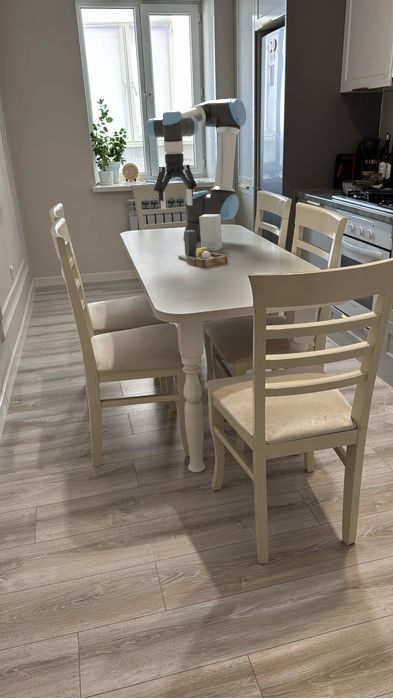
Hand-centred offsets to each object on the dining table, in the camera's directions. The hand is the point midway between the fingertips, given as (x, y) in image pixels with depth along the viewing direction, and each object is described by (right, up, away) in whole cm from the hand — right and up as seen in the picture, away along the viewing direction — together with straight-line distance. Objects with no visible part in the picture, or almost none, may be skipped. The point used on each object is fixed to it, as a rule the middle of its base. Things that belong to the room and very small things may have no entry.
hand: (176, 207), depth 218 cm
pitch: (+10, -22, +2) cm, 25 cm away
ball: (+12, -21, -3) cm, 24 cm away
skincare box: (+15, -14, +22) cm, 30 cm away
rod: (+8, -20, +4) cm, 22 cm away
